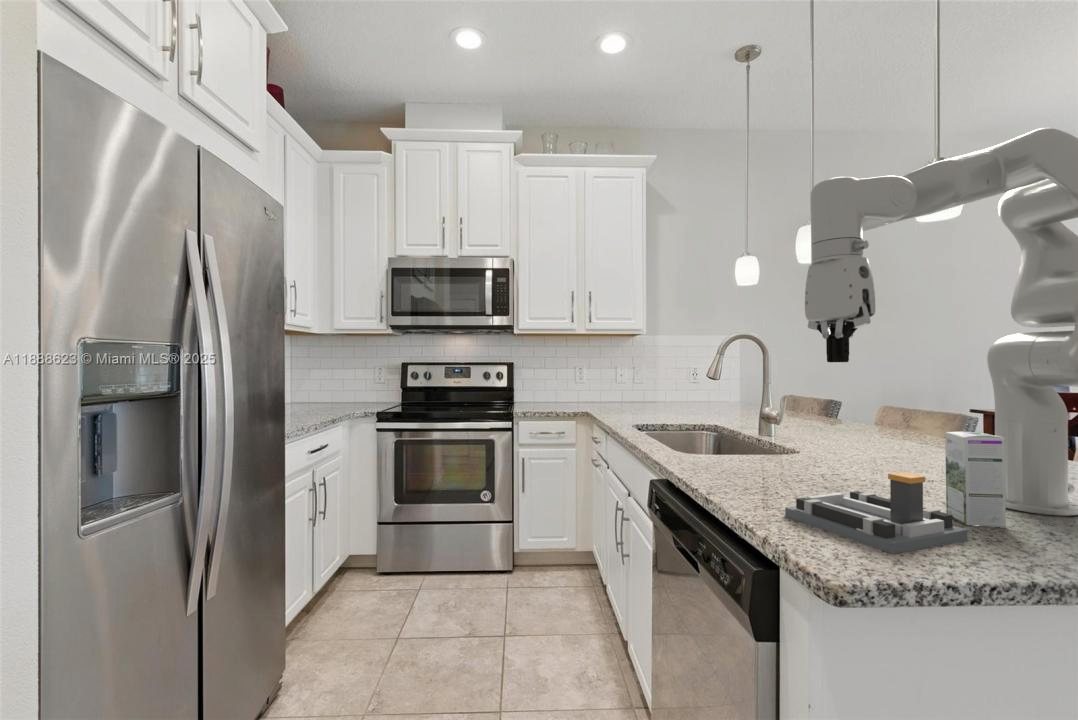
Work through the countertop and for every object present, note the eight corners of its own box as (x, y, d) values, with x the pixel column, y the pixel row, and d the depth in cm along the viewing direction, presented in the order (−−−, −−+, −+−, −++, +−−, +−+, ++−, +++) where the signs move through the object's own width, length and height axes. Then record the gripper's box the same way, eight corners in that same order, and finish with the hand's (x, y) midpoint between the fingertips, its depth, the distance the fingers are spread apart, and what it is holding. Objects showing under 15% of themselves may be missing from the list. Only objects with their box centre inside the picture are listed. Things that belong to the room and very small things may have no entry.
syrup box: (1008, 528, 79) (1007, 436, 79) (964, 526, 80) (964, 435, 80) (983, 517, 85) (983, 431, 85) (943, 515, 86) (943, 430, 86)
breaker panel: (852, 507, 91) (852, 489, 91) (967, 539, 74) (967, 518, 74) (785, 516, 85) (785, 498, 85) (893, 554, 68) (893, 531, 68)
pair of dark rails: (858, 501, 89) (858, 489, 89) (954, 526, 75) (954, 513, 75) (794, 509, 84) (794, 497, 84) (884, 539, 70) (884, 524, 70)
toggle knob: (902, 522, 76) (902, 472, 76) (925, 528, 73) (925, 476, 73) (888, 524, 75) (888, 473, 75) (910, 531, 72) (910, 478, 72)
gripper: (896, 246, 80) (898, 361, 79) (814, 263, 93) (815, 362, 93) (863, 242, 77) (865, 362, 77) (783, 261, 91) (785, 362, 91)
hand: (837, 361), depth 85 cm, fingers closed
